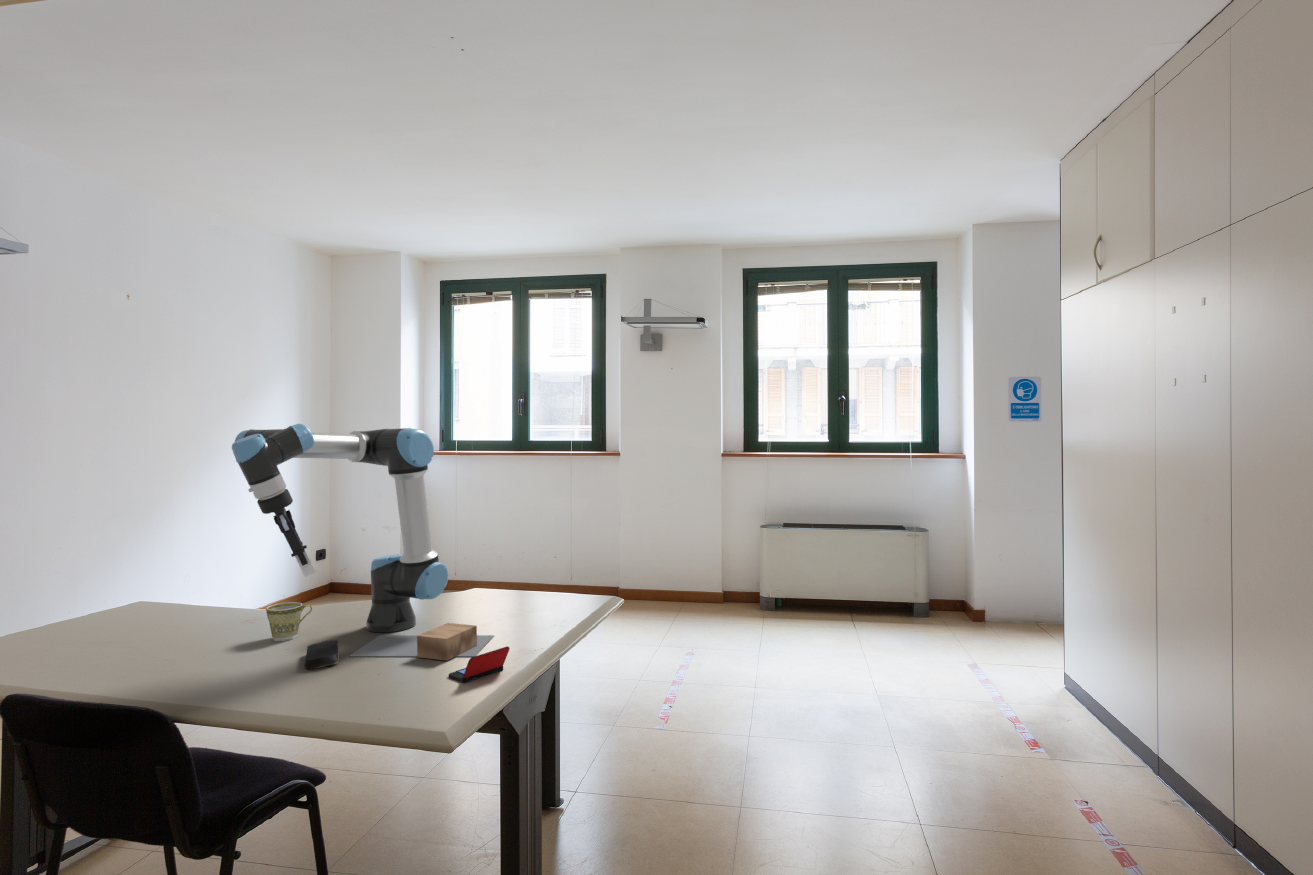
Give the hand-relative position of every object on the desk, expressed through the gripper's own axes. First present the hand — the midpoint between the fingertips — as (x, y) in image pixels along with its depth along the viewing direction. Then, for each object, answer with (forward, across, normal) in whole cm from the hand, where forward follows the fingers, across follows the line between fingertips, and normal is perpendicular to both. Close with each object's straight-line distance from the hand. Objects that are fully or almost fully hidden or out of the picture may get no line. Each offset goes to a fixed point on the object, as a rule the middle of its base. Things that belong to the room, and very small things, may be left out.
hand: (310, 573), depth 190 cm
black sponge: (+28, -7, -7) cm, 29 cm away
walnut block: (+31, +8, +20) cm, 38 cm away
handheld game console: (+35, +28, +27) cm, 52 cm away
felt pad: (+37, -5, +19) cm, 41 cm away
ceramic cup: (+29, -37, -15) cm, 49 cm away
